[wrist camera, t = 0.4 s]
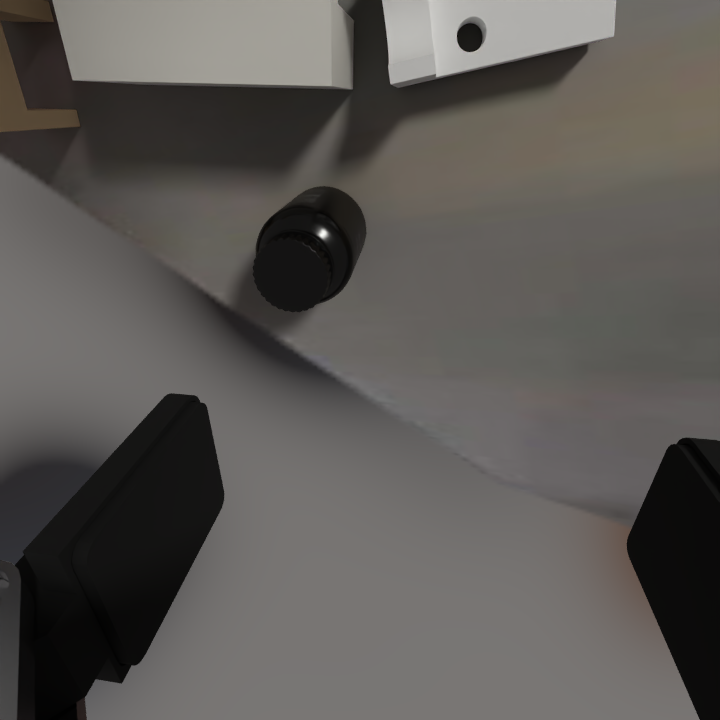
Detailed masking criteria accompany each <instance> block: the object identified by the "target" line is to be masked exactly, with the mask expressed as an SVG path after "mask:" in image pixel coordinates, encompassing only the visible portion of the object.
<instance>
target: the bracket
mask: <svg viewBox="0 0 720 720" xmlns="http://www.w3.org/2000/svg"><path fill="white" fill-rule="evenodd" d="M382 3H383V10H384V17H385V25H386V33H387V42H388V54H389V65H388V70H389V77H390V84H391V85H393V86H395V87H397V88H400V87H404V86H409V85H413V84H417V83H422V82H426V81H431V80H435V79H439V78H444V77H448V76H452V75H457V74H461V73H465V72H470V71H474V70H478V69H483V68H487V67H491V66H496V65H500V64H504V63H509V62H513V61H517V60H522V59H526V58H530V57H535V56H539V55H543V54H548V53H552V52H556V51H561V50H565V49H569V48H574V47H578V46H582V45H587V44H591V43H595V42H600V41H602V40H605V39H608V38H610V37H613V36H614V27H615V10H616V0H382ZM468 23H473V24H476V25H477V26H478V27H479V28H480V29H481V32H482V44H481V46H480V48H479V49H478V50H476V51H474V52H466V51H464V50H462V49H461V48H460V47H459V45H458V42H457V32H458V30H459V29H460V28H461V27H462V26H463V25H465V24H468Z"/></svg>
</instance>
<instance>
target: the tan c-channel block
mask: <svg viewBox="0 0 720 720" xmlns="http://www.w3.org/2000/svg"><path fill="white" fill-rule="evenodd" d="M0 20H4V21H9V22H54V21H53V17H52V13H51V9H50V5H49V1H45V0H0ZM67 127H81V126H80V122H79V118H78V114H77V110H74V109H41V108H27V107H26V104H25V100H24V97H23V94H22V90H21V87H20V84H19V81H18V77H17V74H16V71H15V67H14V64H13V61H12V58H11V54H10V51H9V48H8V44H7V41H6V38H5V35H4V31H3V28H2V25H1V21H0V132H9V131H23V130H38V129H52V128H67Z"/></svg>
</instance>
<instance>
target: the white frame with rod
mask: <svg viewBox="0 0 720 720" xmlns="http://www.w3.org/2000/svg"><path fill="white" fill-rule="evenodd" d="M52 1H53V5H54V9H55V13H56V17H57V21H58V25H59V29H60V33H61V37H62V41H63V45H64V49H65V53H66V57H67V61H68V65H69V68H70V72H71V76H72V80H76V81H92V82H108V83H124V84H141V85H177V86H220V87H263V88H305V89H348V90H353V57H354V20H353V19H352V18H351V17H350V16H349V15H348V14H347V13H346V12H345V11H344V10H343V9H342V8H341V7H340V6H339V5H338V0H52Z"/></svg>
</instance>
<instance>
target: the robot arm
mask: <svg viewBox="0 0 720 720" xmlns="http://www.w3.org/2000/svg"><path fill="white" fill-rule="evenodd" d="M223 501H224V489H223V484H222V479H221V475H220V469H219V464H218V460H217V454H216V449H215V445H214V440H213V435H212V430H211V425H210V420H209V415H208V410H207V407H206V405H205V404H204V403H200V400H199V399H198V397H197V396H194V395H184V394H168V395H166V396H165V397H164V398H163V399H162V400H161V401H160V402H159V403H158V404H157V406H156V407H155V408H154V409H153V410H152V411H151V412H150V413H149V414H148V415H147V417H146V418H145V419H144V420H143V421H142V422H141V423H140V424H139V425H138V426H137V427H136V428H135V430H134V431H133V432H132V433H131V434H130V435H129V436H128V437H127V438H126V439H125V440H124V442H123V443H122V444H121V445H120V446H119V447H118V448H117V449H116V450H115V451H114V453H113V454H112V455H111V456H110V457H109V458H108V459H107V460H106V461H105V462H104V463H103V465H102V466H101V467H100V468H99V469H98V470H97V471H96V472H95V473H94V474H93V475H92V477H91V478H90V479H89V480H88V481H87V482H86V483H85V484H84V486H82V487H81V489H80V490H79V491H78V492H77V493H76V494H75V495H74V496H73V497H72V498H71V499H70V501H69V502H68V503H67V504H66V505H65V506H64V507H63V508H62V509H61V510H60V511H59V512H58V514H57V515H56V516H55V517H54V518H53V519H52V520H51V521H50V522H49V523H48V525H47V526H46V527H45V528H44V529H43V530H42V531H41V532H40V533H39V535H38V536H37V537H36V538H35V539H34V540H33V541H32V542H31V543H30V544H29V545H28V546H27V547H26V549H25V550H24V551H23V553H24V556H23V557H22V558H21V559H20V560H19V561H18V562H17V563H16V565H15V566H14V565H13V564H12V563H10V562H6V561H2V560H0V720H87V717H86V706H85V696H86V695H87V693H88V691H89V689H90V688H91V686H92V684H93V683H94V681H95V679H99V680H104V681H110V682H117V683H122V682H123V680H124V678H125V677H126V675H127V673H128V671H129V669H130V667H131V665H137V664H138V663H140V661H141V660H142V659H143V657H144V655H145V654H146V652H147V650H148V648H149V647H150V645H151V643H152V641H153V639H154V637H155V635H156V633H157V631H158V629H159V627H160V625H161V624H162V622H163V620H164V618H165V616H166V614H167V612H168V610H169V608H170V606H171V604H172V602H173V601H174V598H175V597H176V595H177V593H178V591H179V589H180V587H181V585H182V583H183V581H184V579H185V577H186V576H187V574H188V572H189V570H190V568H191V566H192V564H193V562H194V560H195V558H196V556H197V554H198V553H199V551H200V549H201V547H202V545H203V543H204V541H205V539H206V537H207V535H208V533H209V532H210V530H211V527H212V526H213V524H214V522H215V520H216V518H217V516H218V514H219V512H220V510H221V508H222V505H223ZM627 551H628V555H629V558H630V560H631V563H632V565H633V567H634V570H635V572H636V574H637V576H638V579H639V581H640V583H641V586H642V588H643V590H644V592H645V595H646V597H647V599H648V602H649V604H650V606H651V609H652V611H653V613H654V615H655V618H656V620H657V622H658V625H659V627H660V629H661V632H662V634H663V636H664V638H665V641H666V643H667V645H668V648H669V650H670V652H671V655H672V657H673V659H674V662H675V664H676V666H677V668H678V670H679V673H680V675H681V677H682V680H683V682H684V684H685V687H686V689H687V691H688V693H689V696H690V698H691V700H692V703H693V705H694V707H695V710H696V712H697V714H698V717H699V719H700V720H720V441H717V440H708V439H697V438H682V439H681V440H679V441H678V443H677V444H673V445H670V446H669V447H668V449H667V450H666V453H665V455H664V457H663V459H662V462H661V464H660V466H659V468H658V471H657V473H656V475H655V477H654V480H653V482H652V484H651V486H650V489H649V491H648V493H647V495H646V498H645V500H644V502H643V504H642V507H641V509H640V511H639V513H638V516H637V518H636V520H635V522H634V525H633V527H632V529H631V531H630V534H629V536H628V539H627Z"/></svg>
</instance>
